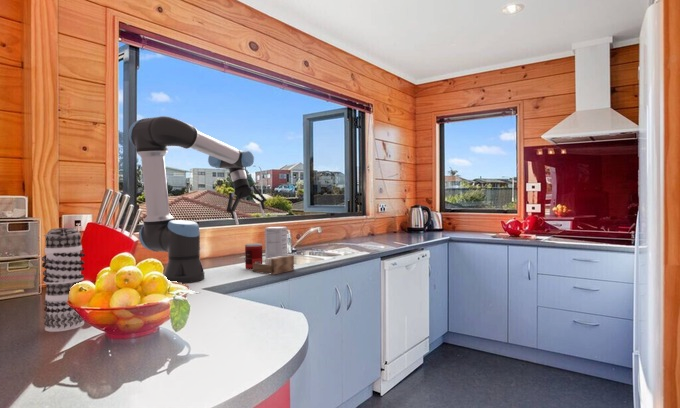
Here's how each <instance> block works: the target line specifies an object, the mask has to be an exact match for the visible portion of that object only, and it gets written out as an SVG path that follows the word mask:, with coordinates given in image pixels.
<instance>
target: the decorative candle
mask: <svg viewBox="0 0 680 408" xmlns="http://www.w3.org/2000/svg"><path fill="white" fill-rule="evenodd" d="M43 237H44V238H45V246H44V254H45V255H44V256H42V257H41V260H42V261H41V262H42V264H41V267H42V268H43V269H45V270H43V271H42V276H44V277H43V279H42V281H43V284H45V285H46V287H45V289H46V293H45V294H44V295H45V301H44V302H43V305H44V306H45V307H44V309H43V311H44V312H46V313H45V314H44V316H43V318H44V319H45V320H44V323H43V324H44V326H45V327H44V331H46V332H50V333H55V332H57V333H58V332H66V331H71V330H75V329H78V328H80V327H83V326H84V325H85V320H83V319H82V318H81V317H80V315H79V314H78V313H77V312H76V311H75V310H74V309H73V308H71V307H70V306H69V305H68V304H67V301H68V295H69V291H70V288H71V287H72V286H73V285H74V284H76V283H79V282H83V280H84V278H85V275H84V274H82V272H83V271H84V270H85V267H84V266H83V265H85V261H84V260H83V259H81V258H84V257H85V256H86V254H85V253H83V251H85V249H84V248H83V245H82V233H80V232H79V230H78V229H77V228H75V227H60V228H58V227H57V228H51V229H49V230H48V231H47V233H46V234H44V235H43Z"/></svg>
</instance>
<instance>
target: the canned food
mask: <svg viewBox="0 0 680 408" xmlns="http://www.w3.org/2000/svg"><path fill="white" fill-rule="evenodd" d="M244 248H245V249H244V253H245V254H244V259H245V261H244V262H245V263H244V264H245V269H246V270H253V263H258V264H263V244H262V243H258V242H257V243H246V244H245V245H244Z"/></svg>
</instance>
